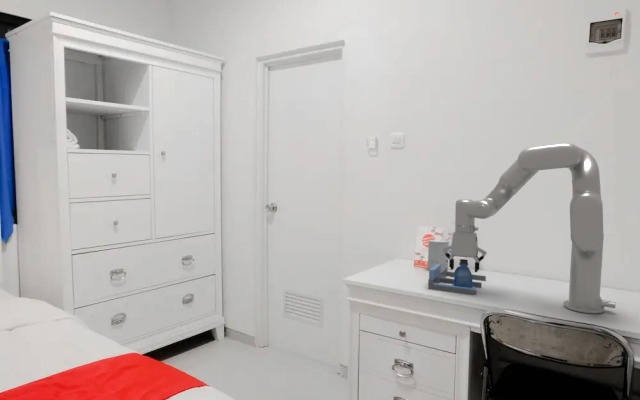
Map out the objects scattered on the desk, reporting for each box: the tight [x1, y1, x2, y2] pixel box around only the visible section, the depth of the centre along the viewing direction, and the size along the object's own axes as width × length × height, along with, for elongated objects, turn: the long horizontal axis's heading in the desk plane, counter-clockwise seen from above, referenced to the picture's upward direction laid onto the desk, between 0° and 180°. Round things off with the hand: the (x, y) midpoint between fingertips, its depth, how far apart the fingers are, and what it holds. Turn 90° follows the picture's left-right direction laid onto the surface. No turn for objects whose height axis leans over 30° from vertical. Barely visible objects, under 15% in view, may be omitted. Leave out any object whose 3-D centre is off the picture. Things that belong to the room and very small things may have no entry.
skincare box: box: [427, 239, 450, 271], centre depth 211 cm, size 8×6×15 cm
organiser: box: [427, 264, 487, 296], centre depth 186 cm, size 19×27×8 cm
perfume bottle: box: [453, 258, 474, 288], centre depth 178 cm, size 6×6×12 cm
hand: (464, 270), depth 178 cm, fingers open, 9 cm apart
